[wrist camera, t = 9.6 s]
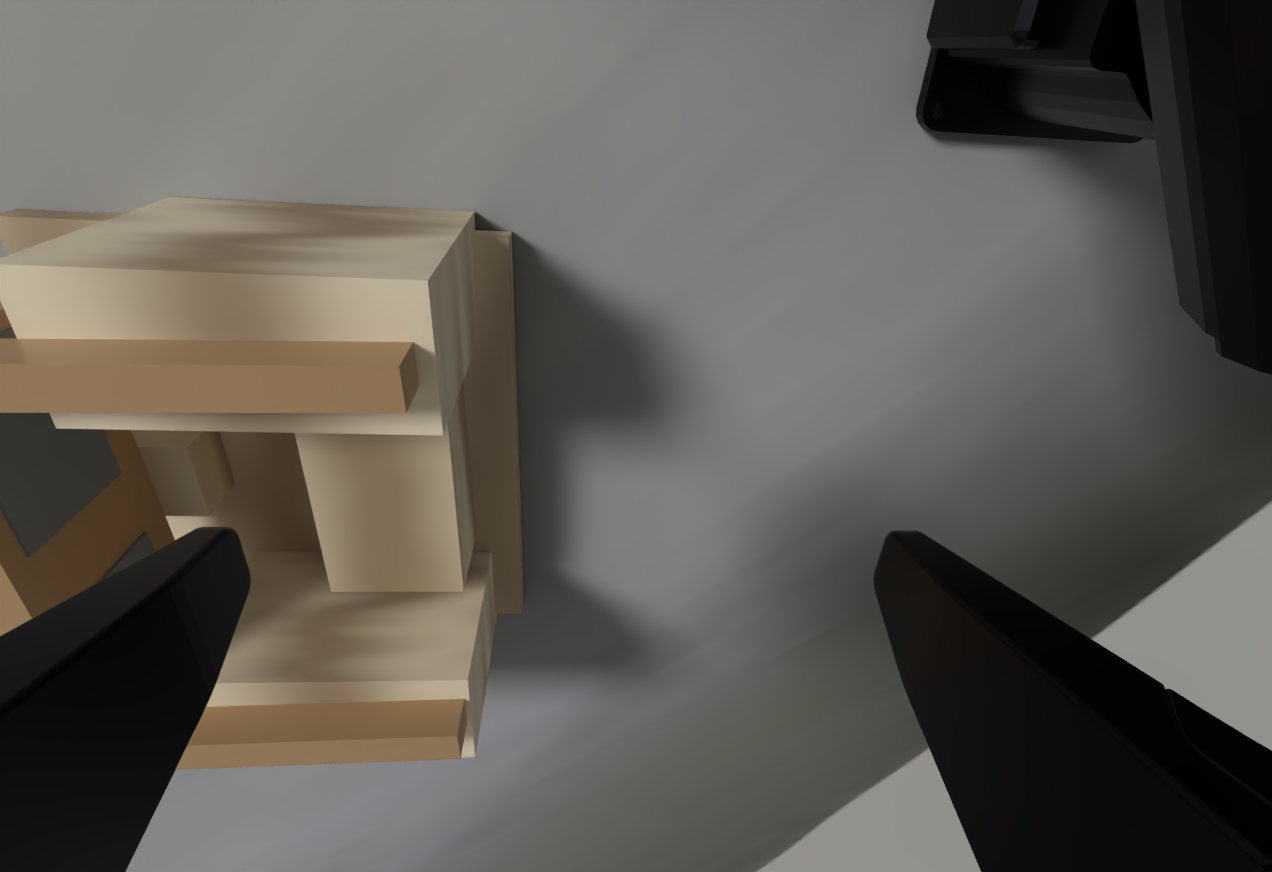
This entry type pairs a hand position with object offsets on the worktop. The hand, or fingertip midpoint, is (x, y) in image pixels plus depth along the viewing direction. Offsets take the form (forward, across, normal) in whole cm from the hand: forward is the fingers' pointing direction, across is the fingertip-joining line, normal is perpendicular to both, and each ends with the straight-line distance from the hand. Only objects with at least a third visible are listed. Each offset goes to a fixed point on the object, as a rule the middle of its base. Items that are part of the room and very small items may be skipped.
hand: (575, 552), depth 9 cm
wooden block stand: (+12, +8, +6) cm, 16 cm away
